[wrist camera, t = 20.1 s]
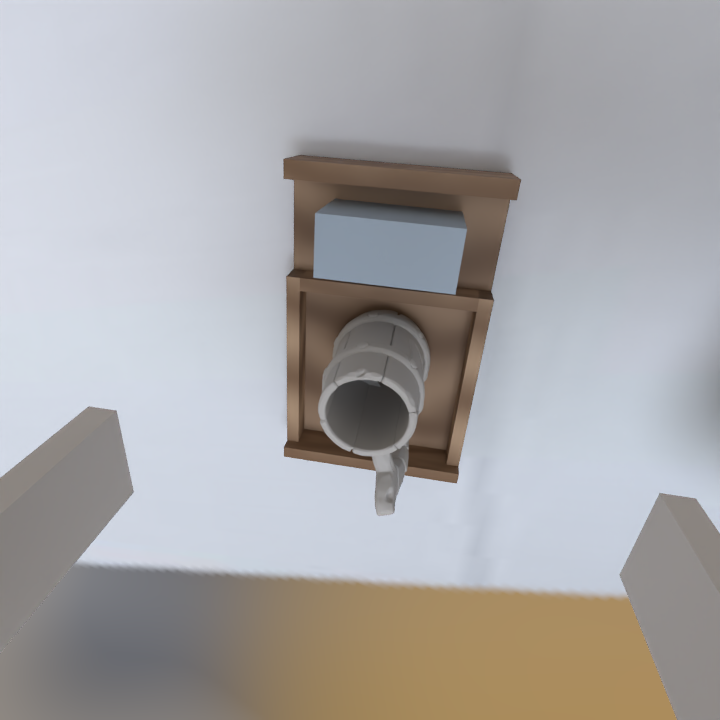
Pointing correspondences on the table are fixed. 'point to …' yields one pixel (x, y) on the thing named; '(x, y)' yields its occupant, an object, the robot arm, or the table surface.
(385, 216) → the blue-grey rectangular block
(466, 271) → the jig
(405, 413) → the mug
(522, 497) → the table surface
